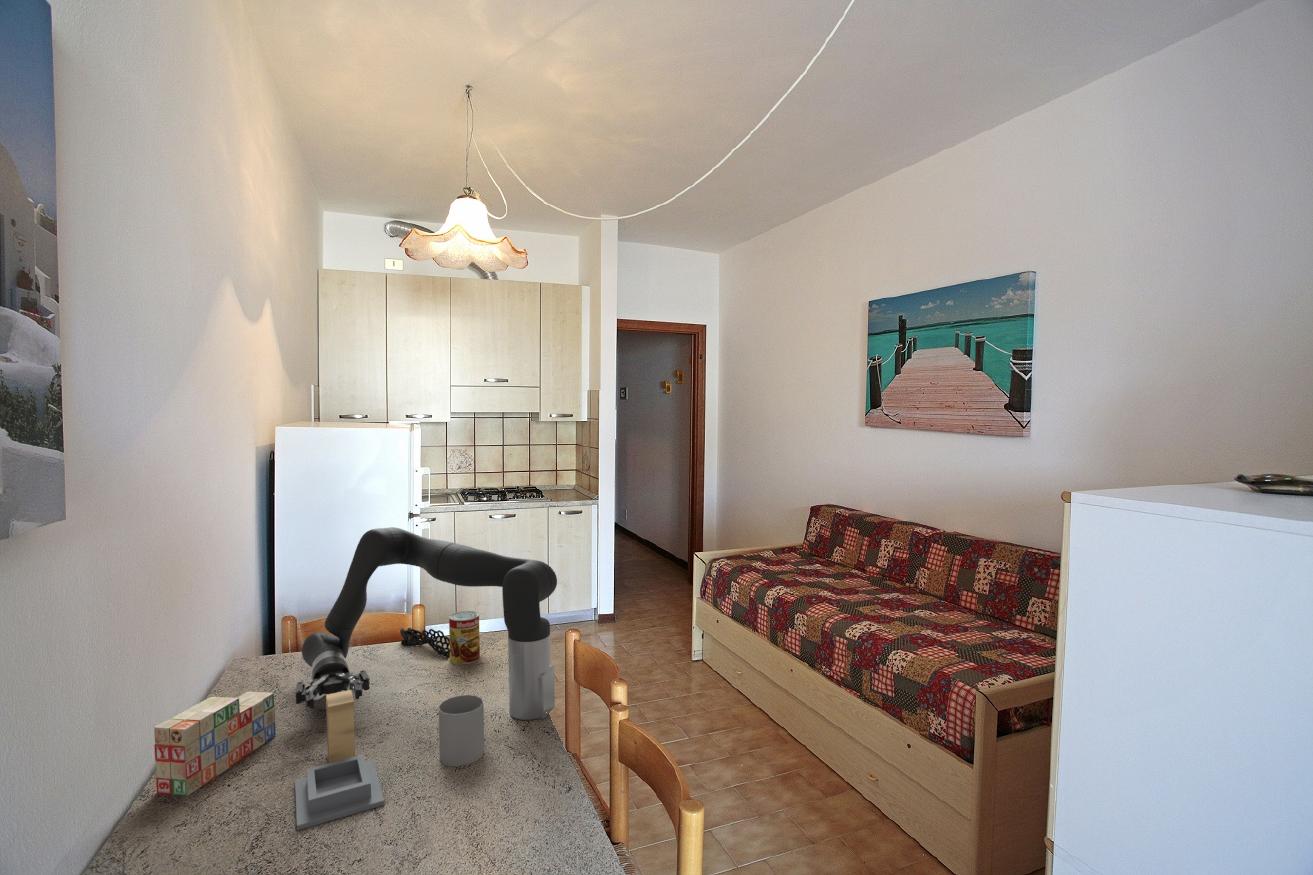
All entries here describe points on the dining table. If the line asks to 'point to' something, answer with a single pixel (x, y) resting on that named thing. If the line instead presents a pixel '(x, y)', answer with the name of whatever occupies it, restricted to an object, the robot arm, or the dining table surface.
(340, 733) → the wooden block
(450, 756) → the cup
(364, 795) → the grey socket base
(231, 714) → the stack of blocks
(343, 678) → the robot arm
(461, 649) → the canned food
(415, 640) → the decorative element
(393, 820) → the dining table surface
